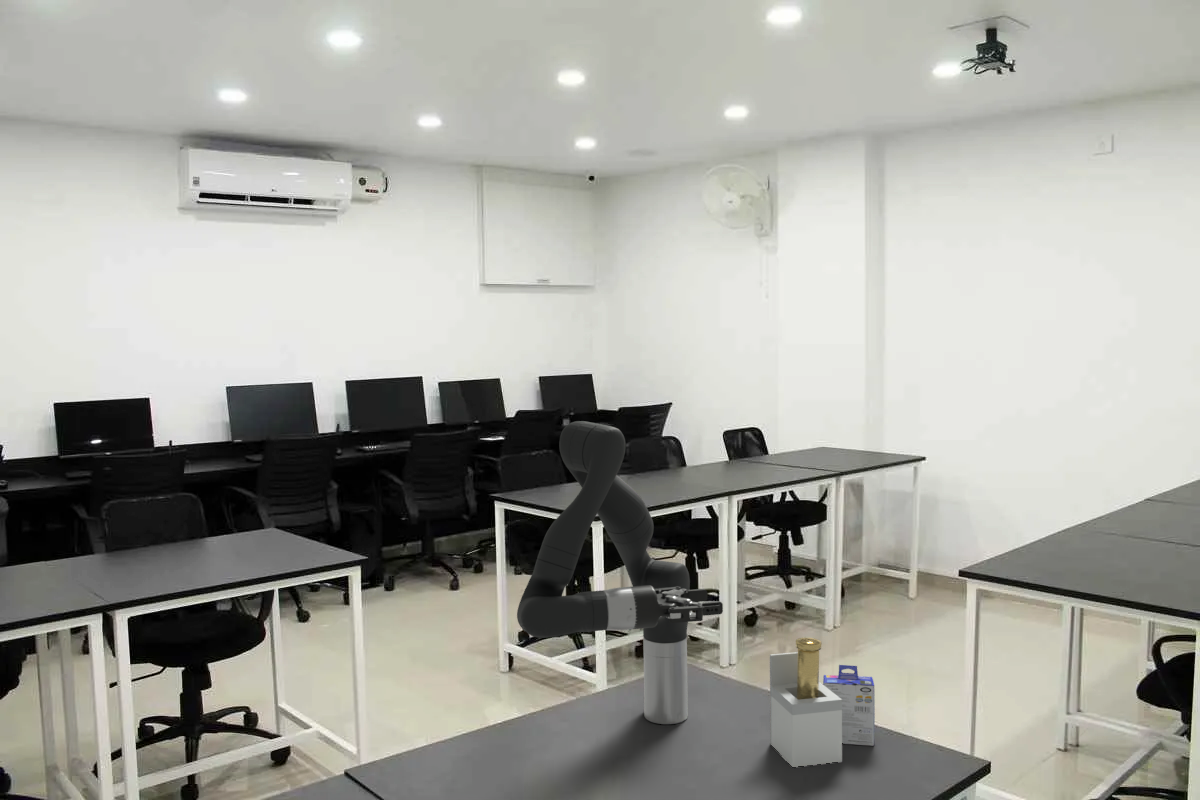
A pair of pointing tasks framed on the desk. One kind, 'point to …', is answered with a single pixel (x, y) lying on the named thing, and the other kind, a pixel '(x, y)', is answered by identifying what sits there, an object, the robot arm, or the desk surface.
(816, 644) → the hinge pin
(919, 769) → the desk surface
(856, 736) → the ink cartridge box
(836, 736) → the hinge block
